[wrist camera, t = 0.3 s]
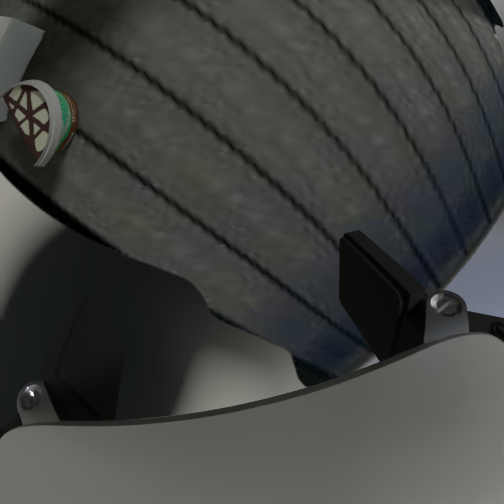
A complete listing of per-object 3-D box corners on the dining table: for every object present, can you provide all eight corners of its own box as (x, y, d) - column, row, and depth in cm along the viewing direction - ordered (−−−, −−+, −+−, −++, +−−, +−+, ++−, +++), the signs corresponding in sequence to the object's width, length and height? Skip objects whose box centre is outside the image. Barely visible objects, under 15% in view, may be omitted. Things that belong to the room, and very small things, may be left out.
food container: (101, 129, 32) (72, 135, 23) (69, 155, 32) (36, 170, 23) (64, 66, 26) (30, 57, 17) (35, 94, 26) (-4, 94, 17)
